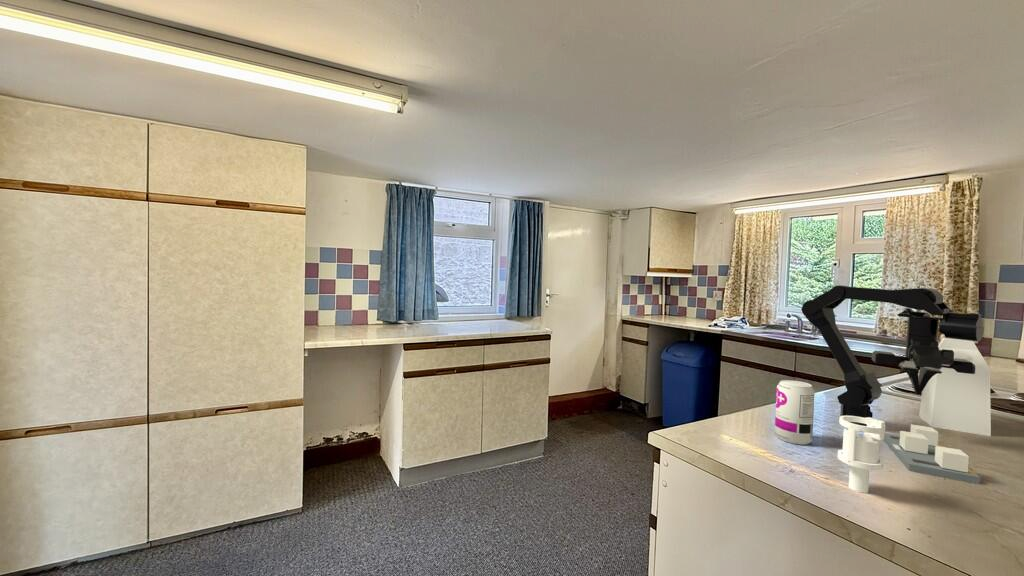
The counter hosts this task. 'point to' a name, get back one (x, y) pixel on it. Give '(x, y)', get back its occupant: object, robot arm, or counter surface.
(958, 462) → the near tab
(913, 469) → the switch bank
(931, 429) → the cream cube
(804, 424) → the supplement can
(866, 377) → the robot arm
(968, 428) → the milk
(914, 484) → the counter surface
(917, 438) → the middle tab
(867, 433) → the white cylindrical holder
